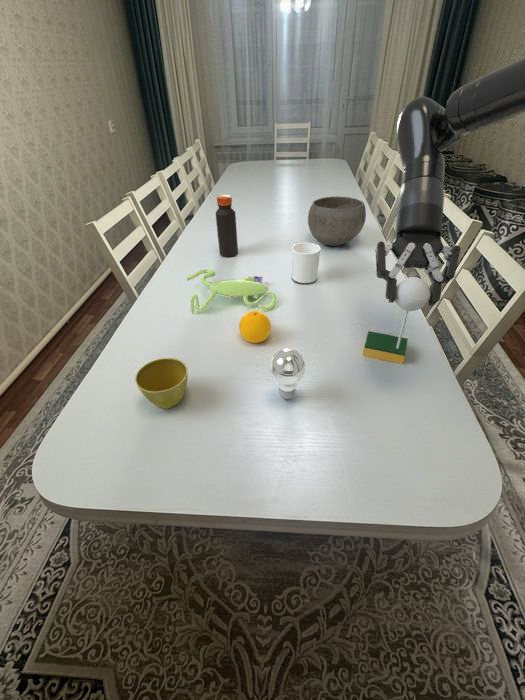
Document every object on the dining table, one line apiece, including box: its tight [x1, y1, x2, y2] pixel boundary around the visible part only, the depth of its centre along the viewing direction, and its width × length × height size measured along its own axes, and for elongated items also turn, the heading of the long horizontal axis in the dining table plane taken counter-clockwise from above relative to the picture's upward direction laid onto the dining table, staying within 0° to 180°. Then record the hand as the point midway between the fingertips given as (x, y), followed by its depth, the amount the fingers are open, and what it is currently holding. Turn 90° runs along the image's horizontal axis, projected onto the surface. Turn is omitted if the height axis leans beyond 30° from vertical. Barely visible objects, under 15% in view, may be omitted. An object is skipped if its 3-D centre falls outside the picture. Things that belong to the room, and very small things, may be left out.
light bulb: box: [269, 348, 307, 400], centre depth 71 cm, size 7×7×12 cm
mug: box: [291, 242, 322, 285], centre depth 113 cm, size 11×9×10 cm
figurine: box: [186, 269, 277, 315], centre depth 105 cm, size 18×27×6 cm
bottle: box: [215, 194, 239, 258], centre depth 126 cm, size 7×7×20 cm
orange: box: [238, 310, 272, 344], centre depth 88 cm, size 8×8×8 cm
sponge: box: [362, 330, 408, 365], centre depth 84 cm, size 9×6×3 cm, turn 69°
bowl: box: [307, 196, 367, 247], centre depth 134 cm, size 21×21×15 cm
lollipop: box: [394, 276, 431, 349], centre depth 66 cm, size 6×6×15 cm
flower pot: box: [134, 357, 189, 409], centre depth 72 cm, size 10×10×7 cm
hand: (411, 302), depth 62 cm, fingers closed on lollipop, 6 cm apart
